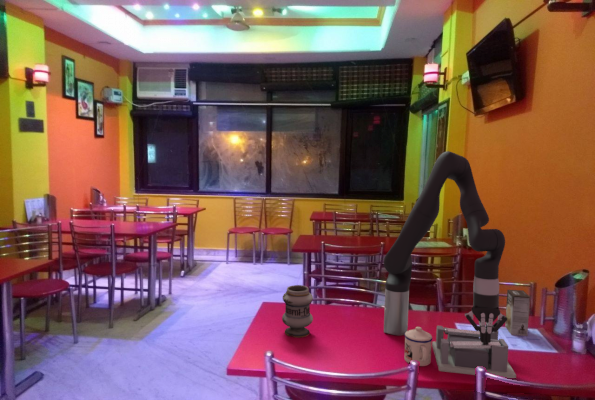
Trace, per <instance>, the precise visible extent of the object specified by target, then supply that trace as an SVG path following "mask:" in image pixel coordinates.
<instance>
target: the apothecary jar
mask: <svg viewBox="0 0 595 400" xmlns="http://www.w3.org/2000/svg"><path fill="white" fill-rule="evenodd" d="M309 290H310V289H309V287H308V286H306V285H303V284H297V285H296V284H294V285H289V286H287V288H286V291H285V292H284V293H283V295H282V301H283V302H284V304H285V312H284V313H283V314H282V317H281V320H282V321H281V322H282V323H283V324H284V325H286V326H287V328H285V330H284V334H285V335H286V336H288V337H292V338H304V337H308V336H309V335H310V330H309V328H306V327H308V326H310V325H311V324H312V323H313V321H314V317H313V315H312V314H311V311H310V309H311V308H310V306H311V305H310V304H311V303H312V302H313V300H314V297H313V295H312V294H311V292H309Z"/></svg>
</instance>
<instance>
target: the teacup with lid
mask: <svg viewBox="0 0 595 400" xmlns="http://www.w3.org/2000/svg"><path fill="white" fill-rule="evenodd" d="M432 340H433V336H432V334H431V333H429V332H427V331H425V330H423V328H422V327H420V326H416V327H415V328H413V329H407V331H406V333H405V335H404V361H405V362H406V363H407V364H409V362H410V361H411V360H417V361H419V362H420V366H419V367H426V366H429V365H430V364H431V362H432V361H431V359H432Z"/></svg>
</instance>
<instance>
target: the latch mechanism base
mask: <svg viewBox="0 0 595 400" xmlns="http://www.w3.org/2000/svg"><path fill="white" fill-rule="evenodd" d="M493 325H494V324H492V326H493ZM443 328H444V326H443V325H436V332H435V334H436V335H435V341H432V342H431V348H432V351H433V353H434V356H435V361H436V365H437V367H438V368H437V369H438V371H439V372H444V373H445V372H446V373H452V374H453V373H455V374H462V375H463V374H464V375H472V376H476V375H475V368H476V367H477V366H483V367H485V368H486V370H487V372H489V373H492V374H495V375H499V376H503V377H507V378H516V379H517V373H516V372H515V371H514V369H513V368H512V366H511V364H510V363H509V361H508V360H509V345H508V343H507V342H506V341H505V339H504V338H499V330H498V331H497V332H492V333H491V342H499V343H500V344H501V346H498V345H492V348H453V349H451V348H450V346H449V343H448V342H449V341H474V342H481V341H480V337H473V336H463V335H453V334H447V338H444V337H445V335H444V334H445V333H444V329H443ZM485 331H486V325H485ZM507 378H506V379H507Z"/></svg>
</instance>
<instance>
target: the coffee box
mask: <svg viewBox="0 0 595 400" xmlns="http://www.w3.org/2000/svg"><path fill="white" fill-rule="evenodd" d="M506 291H507V293H506V304H505V305H506V307H505V316H506V317H507V321H506V322H505V323H504V325H505V326H504V327H505V329H507V331H508V332H509V334H510V335H512V336H522V337H528V332H529V315H530V303H531V296H530V295H528V294H527V293H526V292H525V291H524V290H520V289H519V290H518V289H506Z"/></svg>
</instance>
